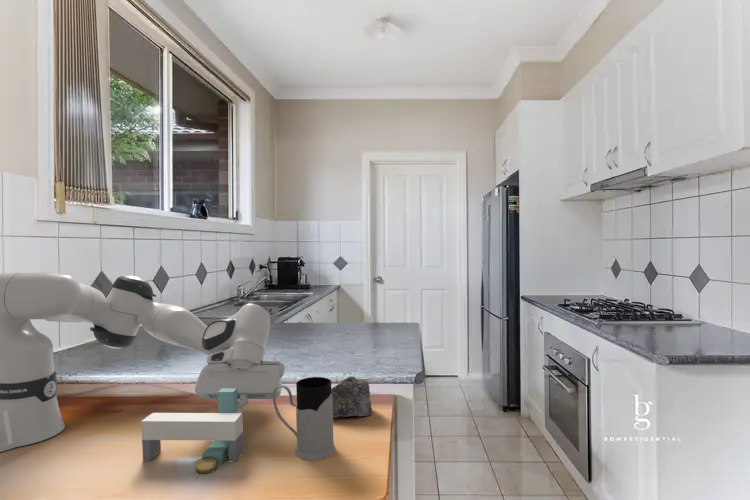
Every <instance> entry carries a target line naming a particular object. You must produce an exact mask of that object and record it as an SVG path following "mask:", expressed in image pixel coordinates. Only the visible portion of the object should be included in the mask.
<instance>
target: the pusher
mask: <svg viewBox="0 0 750 500" xmlns="http://www.w3.org/2000/svg"><path fill="white" fill-rule="evenodd" d="M238 403H239V401H238V399H237V388H222V389H221V390H219V391H218V399H217V404H218V405H217V408H218V410H219V413H238ZM218 410H217V411H218ZM228 454H229V445H228V441H221V440H212V443H210V445H208V447H207V448H206V449H205V451H204V452H202V454H201V458H202V457H207V456H213V457H215V458H216V461H217V465H222V464H223V463H224V461H225V460H226V459H227V458H228V457H229V455H228ZM225 458H226V459H225ZM222 462H223V463H222Z"/></svg>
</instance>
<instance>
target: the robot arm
mask: <svg viewBox="0 0 750 500" xmlns="http://www.w3.org/2000/svg"><path fill="white" fill-rule="evenodd" d="M111 287H112V289H111V290H110V292H109V294H108V296H107V298H106V296H105V295H104V293H103V292H102V291H101V290H99V289H97V288H95V287H94V286H92V285H89V284H85V283H82V282H78V280H76V278H75V277H74V276H72V275H67V274H62V273H55V272H7V273H4V272H1V273H0V453H1V452H5V451H8V450H9V451H10V450H11V449H15V448H19V447H23V446H28V445H32V444H35V443H39V442H42V441H45V440H48V439H50V438H52V437H54V436H56V435H58V434H60V433H61V432H63V430H65V427H66V425H65V423H64V420H63V417H62V413H61V411H60V407H59V401H58V398H57V397H58V396H57V389H58V377H57V371H56V370H55V364H54V345H53V342H52V339H50V337H48V336H47V335H45V334H44V333H41V332H40V331H38V330H37V329H36V328H35V326H34V325H33V323H32V320H45V321H47V322H57V323H59V322H60V323H90V324H93V326H91V327H89V330H90V331H91V332H93V336H94V338H95V339H96V340H97V342H98V343H99V344H101V345H103V346H105V347H106V348H109V349H115V350H118V349H125V348H128V347H131V346H132V345H133V343H134V341H135V339H136V337H137V336H136V335H137V333H138V331H139V329H140V326H142V328H143V330H144V331H145V332H146V333H147V334H149V335H150V336H152V337H154V338H156V339H157V340H159V341H162V342H164V343H169V344H170V345H175V346H179V347H183V348H187V349H189V350H194V351H197V352H200V353H202V354H206V355H207V356H206V363H207V364H206V365H205V366H204V367H203V368H202V369H201V371H200V373H199V375H198V378H197V380H196V384H195V388H194V392H195V394H196V395H197V397H198V398H199V399H200V400H218V391H219V390H221V389H222V388H237V400H240V401H239V402H238V403H239V404H238V413H242V410H243V409H244V408H245V406H247V404H248V402H249V400H273V391H274V389H275V388H276V387H278V386H280V385H282V377H283V376H284V374H285V369H286V368H285V365H284V364H283V363H282V362H280V361H278V360H275V361H270V360H269V361H268V360H264V358H265V355H266V354H265V353H266V351H265V345H266V343H267V341H268V339H269V332H270V326H271V325H270V324H271V317H270V313H269V312H268V310H266V309H265V308H264V307H263V306H261V305H258V304H255V303H247V304H244V305H242V307H240V309H239V310H238V311H237V312H236V313H234V314H233V315H230V316H229V317H227V318H223V319H218V320H215V321H213V322H210V323H209V324H208V325H207V324H205V323H204V322H203V321H202V320H201V319H200V318H199V317H197V315H196V314H194V313H192V312H191V311H190V310H188V309H186V308H184V307H182V306H180V305H176V304H171V303H163V302H162V303H160V302H156V301H154V299H153V298H156V297H157V294H155V293H154V292H153V288H152V285H150V283H149V282H147V281H146V280H144V279H143V278H142V277H139V276H136V275H123V276H122V275H121V276H118V277H117V278H116V279H115V280H114V281H113V283H112V285H111ZM281 393H282V387H280V388H277V389H276V391H275V400H276V399H278V398H279V397H280V396H281V395H282V394H281Z"/></svg>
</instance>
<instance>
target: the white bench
mask: <svg viewBox="0 0 750 500" xmlns="http://www.w3.org/2000/svg"><path fill="white" fill-rule="evenodd" d="M140 423H141V446H142V461H143V460H144V462H150V461H152V460H153V459H154V458H155V457H156V456H157V455H158V454H159V453H160V452H161V451H162V445H161V443H162V442H161V441H214V440H221V441H228V445H229V455H228V462H229V461H236V462H237V461H238V460H239V459H238V458H240V457H241V456H242V455H243V453H244V430H243V429H244V427H243V426H244V425H243V413H242V412H241V413H217V412H151V414H149V415H148V416H146V417H145V418H143V419H142V420H141V422H140ZM160 450H161V451H160ZM159 451H160V452H159ZM158 452H159V453H158ZM157 453H158V454H157ZM156 454H157V455H156ZM155 455H156V456H155ZM240 455H241V456H240ZM154 456H155V457H154ZM153 457H154V458H153ZM152 458H153V459H152ZM237 459H238V460H237ZM147 460H148V461H147Z"/></svg>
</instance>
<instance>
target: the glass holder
mask: <svg viewBox="0 0 750 500" xmlns="http://www.w3.org/2000/svg"><path fill="white" fill-rule="evenodd" d="M280 387H281V388H283V389H285V390H286V392H287V393H288V397H289V403H290V405H291V406H293V407H295V412H296V413H295V417H296V430H295V429H294V428H293V427H292V426H291V425H290V424H289V423H288V422H287V421H286V420H285V419H284V418H283V416H282V415H281V413H280V411H279V409H278V406H277V401H276V399H275V391H276V389H277V388H280ZM295 387H296V391H295V392H296V404H295V402H293V394H292V391H291V390H290V388H289V387H288V386H286V385H283V384H281V385H280V386H278V387H276V388H275V389H274V391H273V399H272V403H273V407H274V410H275V414H277V417H278V419H279V420H280V422H282V424H283V425H285V426H286V428H288V429H289V430H290V431H291V432H292V433H293V434H294V435H295V437H296V448H295V451H294V453H295V456H296V457H297V458H299V459H301V460H306V461H319V460H324V459H327V458H329V457H331V456H332V455H334V454H335V453H336V446H335V444H334V417H333V403H332V394H331V389H332V380H331V379H329V378H327V377H321V376H312V377H311V376H310V377H305V378H301V379H300V380H298V381H296V383H295Z"/></svg>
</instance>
